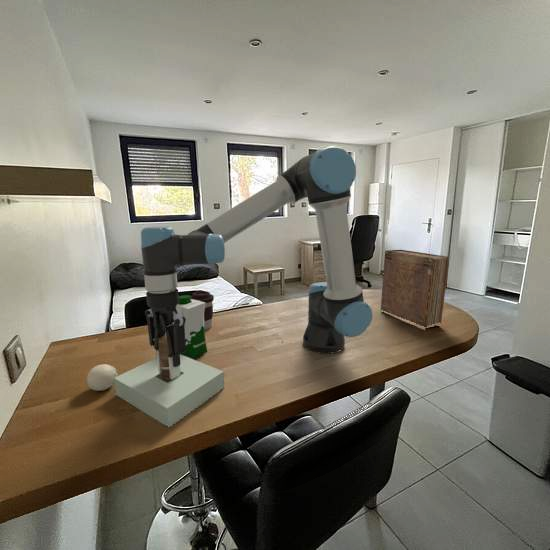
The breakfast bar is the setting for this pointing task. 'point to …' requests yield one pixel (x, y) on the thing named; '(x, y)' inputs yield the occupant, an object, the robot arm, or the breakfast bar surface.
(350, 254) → the robot arm
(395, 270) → the book
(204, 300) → the coffee cup
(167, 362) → the peg
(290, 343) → the breakfast bar surface
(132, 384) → the board
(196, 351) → the milk carton
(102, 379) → the baseball
